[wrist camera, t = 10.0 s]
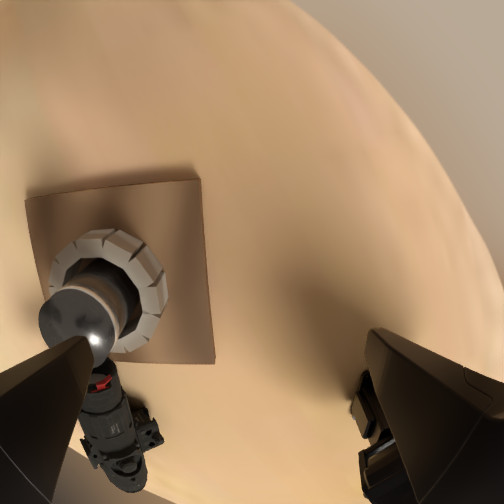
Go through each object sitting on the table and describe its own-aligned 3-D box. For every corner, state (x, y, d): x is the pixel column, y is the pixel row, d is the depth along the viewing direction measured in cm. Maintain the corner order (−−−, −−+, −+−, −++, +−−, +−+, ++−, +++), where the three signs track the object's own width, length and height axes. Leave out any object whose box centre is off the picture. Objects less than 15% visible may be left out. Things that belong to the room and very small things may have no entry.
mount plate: (200, 178, 20) (192, 184, 17) (215, 356, 24) (212, 384, 21) (31, 197, 20) (5, 206, 16) (68, 350, 24) (52, 372, 21)
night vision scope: (145, 442, 31) (75, 466, 25) (120, 321, 26) (20, 346, 20) (180, 486, 26) (101, 517, 19) (157, 368, 21) (31, 405, 14)
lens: (138, 253, 20) (98, 297, 14) (147, 313, 22) (118, 372, 15) (80, 255, 20) (28, 295, 14) (92, 312, 22) (52, 364, 15)
